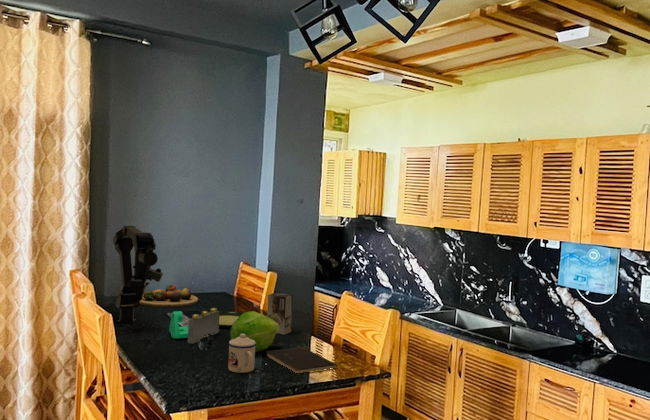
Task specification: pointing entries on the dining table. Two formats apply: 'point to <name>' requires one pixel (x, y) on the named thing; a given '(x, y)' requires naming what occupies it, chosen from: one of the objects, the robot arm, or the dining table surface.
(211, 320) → the grey upright panel
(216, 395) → the dining table surface
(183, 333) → the camera mount
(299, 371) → the hardcover book
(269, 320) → the lettuce
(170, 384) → the dining table surface
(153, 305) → the wooden plate with food
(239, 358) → the teacup with lid
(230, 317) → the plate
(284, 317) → the coffee box
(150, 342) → the dining table surface
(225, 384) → the dining table surface
